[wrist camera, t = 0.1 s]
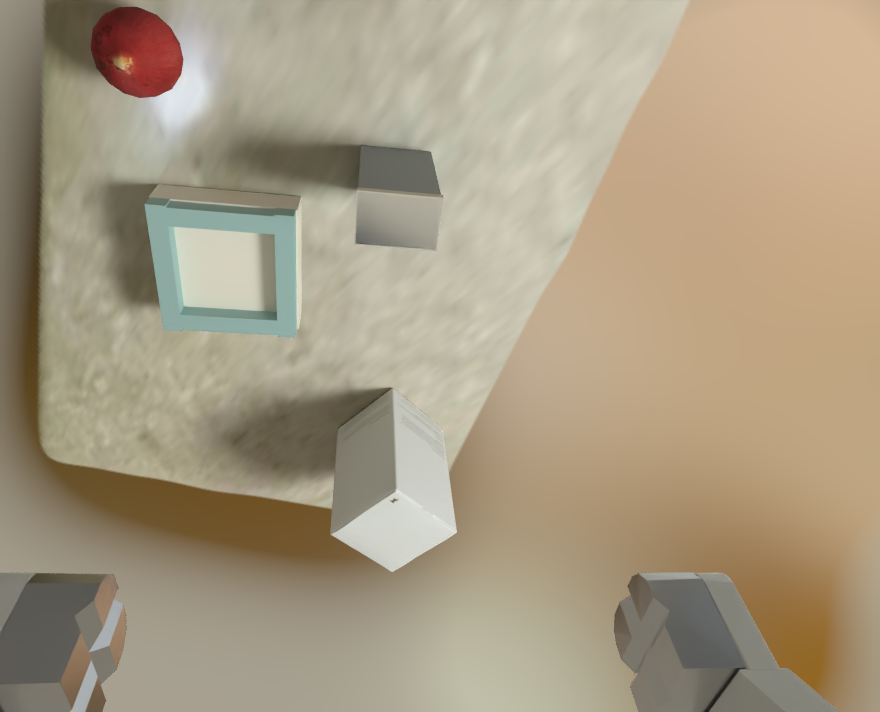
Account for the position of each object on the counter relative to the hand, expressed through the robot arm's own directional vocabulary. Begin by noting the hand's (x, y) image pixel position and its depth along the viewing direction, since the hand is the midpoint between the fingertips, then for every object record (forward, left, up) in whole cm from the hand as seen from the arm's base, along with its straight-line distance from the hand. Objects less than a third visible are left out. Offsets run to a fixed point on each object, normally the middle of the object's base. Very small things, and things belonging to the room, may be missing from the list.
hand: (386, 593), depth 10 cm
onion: (+1, -17, -48) cm, 51 cm away
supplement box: (+39, +4, -48) cm, 62 cm away
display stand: (+18, -12, -48) cm, 53 cm away
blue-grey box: (+9, +2, -48) cm, 49 cm away
